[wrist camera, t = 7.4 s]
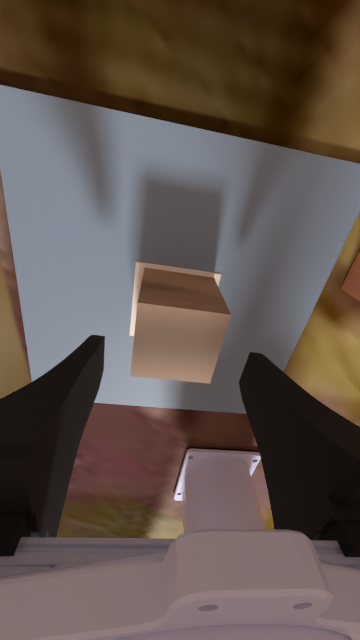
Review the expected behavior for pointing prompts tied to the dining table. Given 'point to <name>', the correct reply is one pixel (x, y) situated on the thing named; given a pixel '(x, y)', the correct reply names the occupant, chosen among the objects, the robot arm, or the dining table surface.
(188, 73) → the dining table surface
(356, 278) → the terracotta block
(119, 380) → the board
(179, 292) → the walnut block
